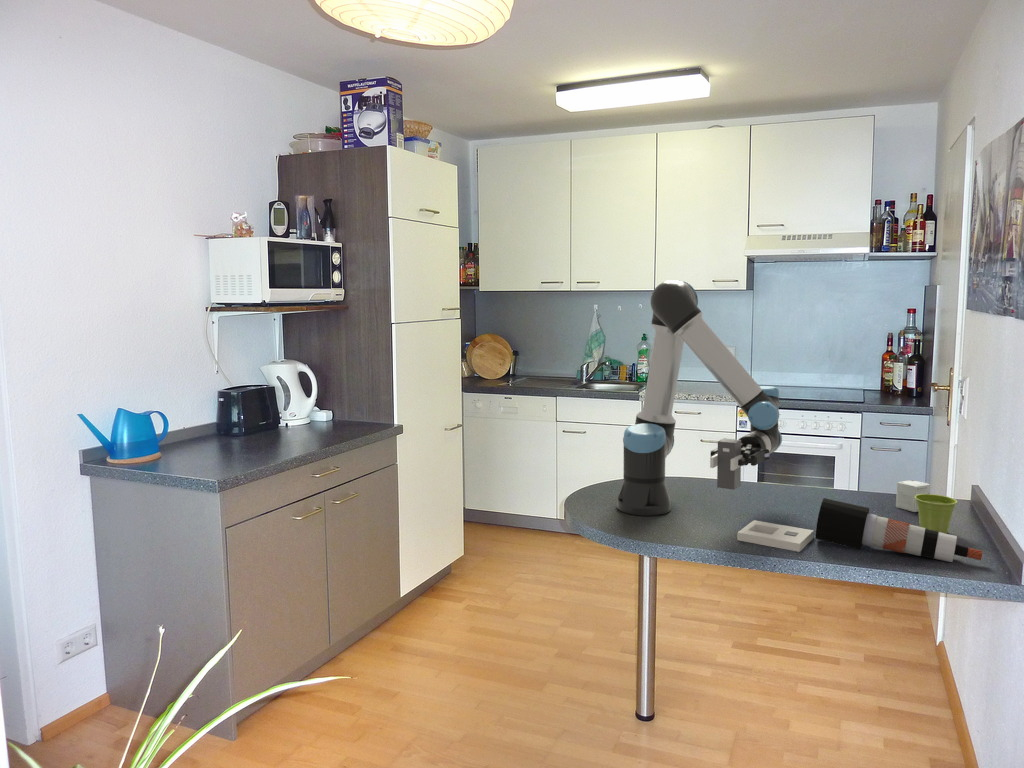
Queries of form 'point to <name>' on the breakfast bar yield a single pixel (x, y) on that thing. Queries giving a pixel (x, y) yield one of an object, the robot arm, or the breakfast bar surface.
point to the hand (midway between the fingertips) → (721, 463)
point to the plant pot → (935, 511)
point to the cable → (884, 533)
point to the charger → (728, 464)
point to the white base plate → (776, 535)
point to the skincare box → (910, 494)
